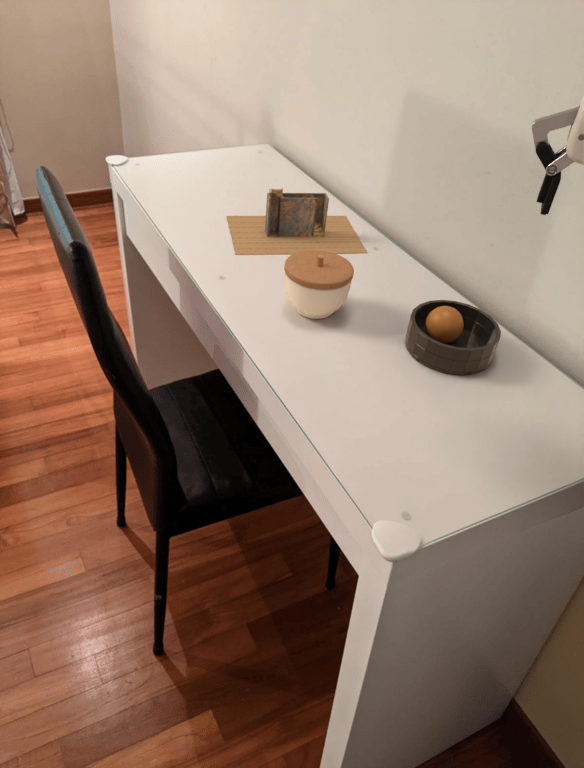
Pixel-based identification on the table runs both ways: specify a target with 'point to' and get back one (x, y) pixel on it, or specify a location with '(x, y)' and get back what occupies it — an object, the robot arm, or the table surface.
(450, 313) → the orange ball
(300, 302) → the trinket box
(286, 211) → the architectural model on board
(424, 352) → the bowl
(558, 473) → the table surface
